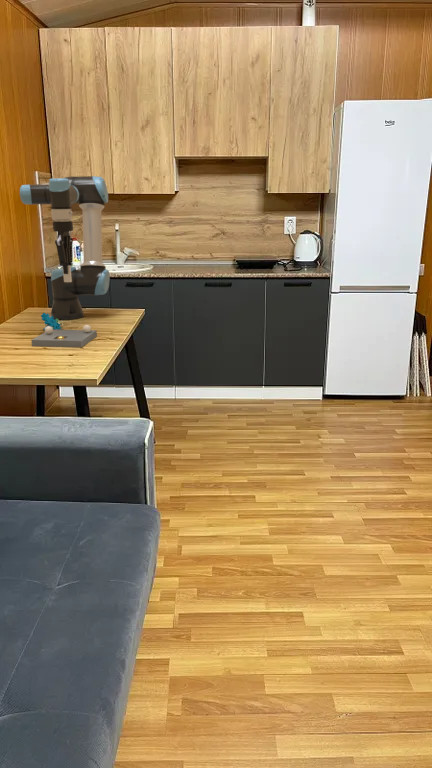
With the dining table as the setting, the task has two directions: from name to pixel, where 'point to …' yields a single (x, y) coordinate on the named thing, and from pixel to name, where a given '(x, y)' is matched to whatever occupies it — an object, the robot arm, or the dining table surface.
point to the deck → (71, 338)
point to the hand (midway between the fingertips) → (67, 281)
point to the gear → (50, 321)
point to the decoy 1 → (48, 330)
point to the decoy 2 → (87, 328)
